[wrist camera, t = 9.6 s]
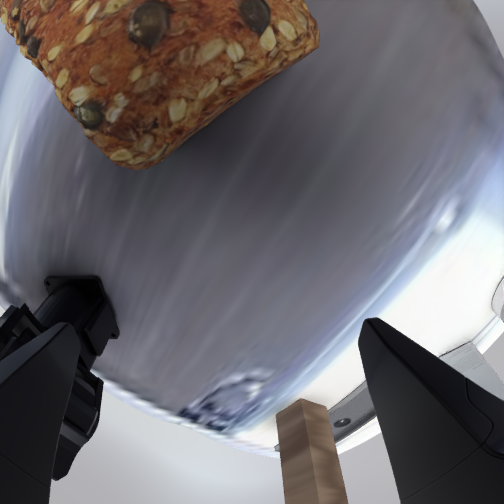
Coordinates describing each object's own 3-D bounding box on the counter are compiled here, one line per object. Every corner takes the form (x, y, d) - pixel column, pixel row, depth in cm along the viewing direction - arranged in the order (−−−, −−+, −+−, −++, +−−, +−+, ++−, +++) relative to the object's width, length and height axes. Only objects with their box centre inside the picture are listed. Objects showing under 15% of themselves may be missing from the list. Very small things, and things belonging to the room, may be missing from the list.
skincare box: (431, 375, 29) (466, 442, 18) (439, 354, 27) (481, 426, 16) (464, 358, 28) (501, 419, 17) (472, 337, 26) (516, 400, 15)
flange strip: (309, 450, 36) (310, 457, 35) (274, 446, 34) (275, 454, 33) (415, 373, 28) (419, 381, 27) (384, 363, 26) (388, 372, 25)
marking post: (275, 415, 29) (288, 533, 15) (300, 398, 28) (322, 526, 14) (301, 422, 31) (318, 530, 16) (326, 406, 29) (351, 521, 15)
